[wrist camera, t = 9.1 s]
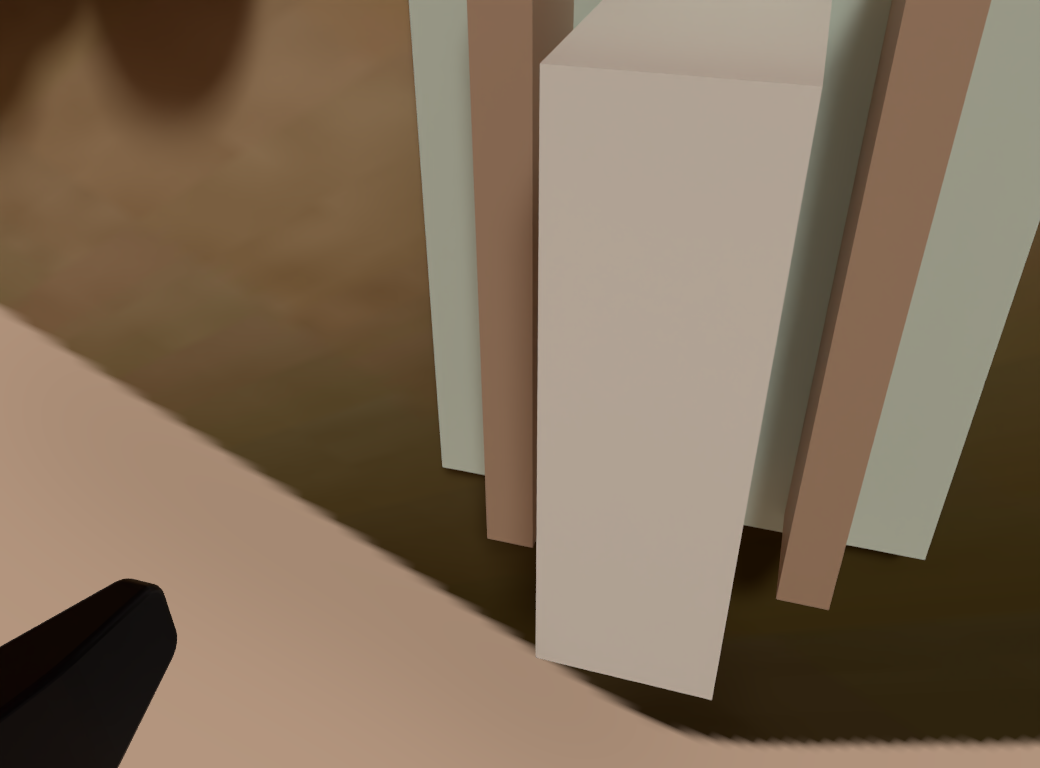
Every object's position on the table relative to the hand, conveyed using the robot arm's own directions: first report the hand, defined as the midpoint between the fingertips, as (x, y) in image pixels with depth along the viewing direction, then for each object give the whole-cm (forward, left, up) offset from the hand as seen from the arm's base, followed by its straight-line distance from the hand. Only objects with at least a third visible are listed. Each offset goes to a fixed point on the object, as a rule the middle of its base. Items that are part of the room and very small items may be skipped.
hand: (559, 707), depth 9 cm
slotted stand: (0, 0, -11) cm, 11 cm away
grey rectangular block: (0, 0, -10) cm, 10 cm away
